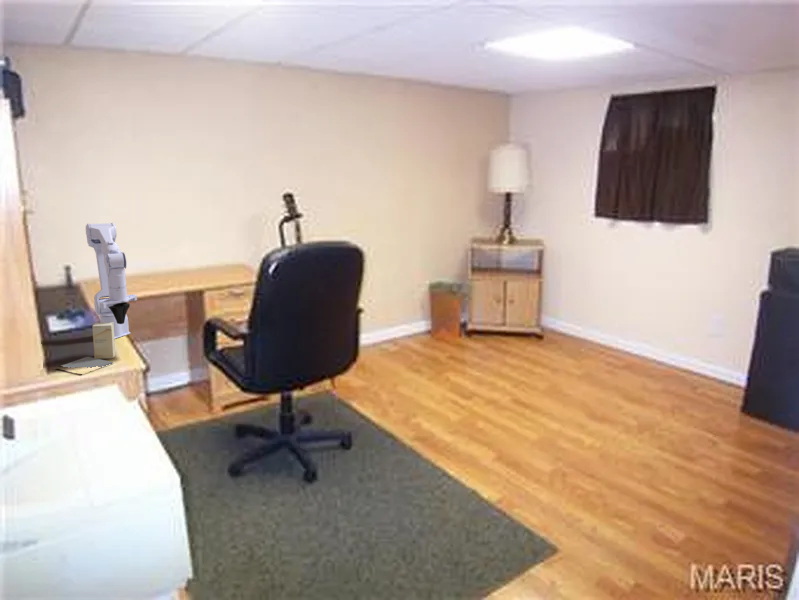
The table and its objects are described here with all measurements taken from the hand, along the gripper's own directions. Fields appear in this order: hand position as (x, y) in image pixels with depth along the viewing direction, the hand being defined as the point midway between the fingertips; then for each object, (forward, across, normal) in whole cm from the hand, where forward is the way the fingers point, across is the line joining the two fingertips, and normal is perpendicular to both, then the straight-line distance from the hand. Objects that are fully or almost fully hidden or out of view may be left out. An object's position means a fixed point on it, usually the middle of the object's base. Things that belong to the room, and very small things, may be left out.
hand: (120, 323), depth 206 cm
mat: (+10, -18, -2) cm, 20 cm away
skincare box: (+11, -8, 0) cm, 13 cm away
